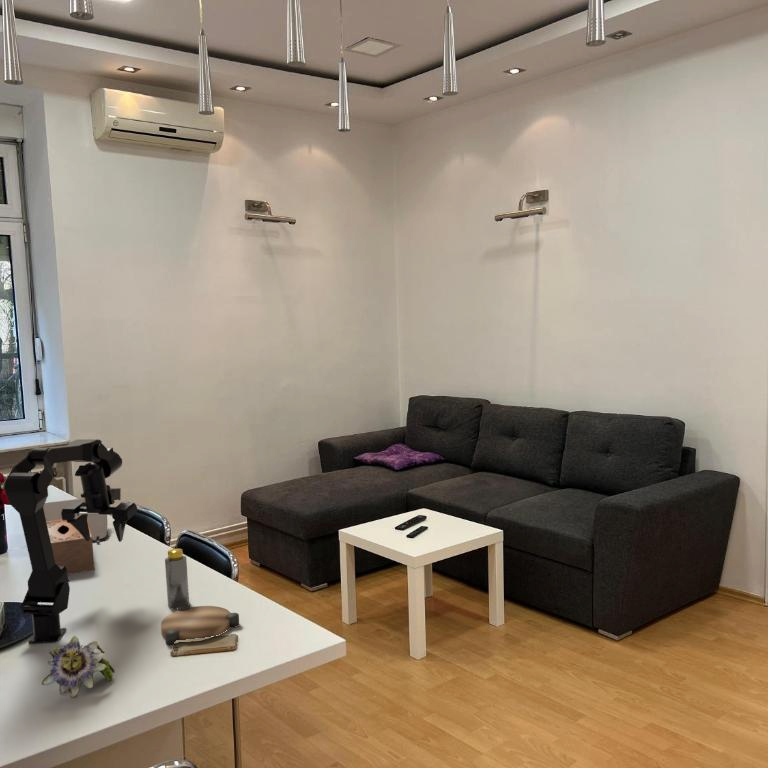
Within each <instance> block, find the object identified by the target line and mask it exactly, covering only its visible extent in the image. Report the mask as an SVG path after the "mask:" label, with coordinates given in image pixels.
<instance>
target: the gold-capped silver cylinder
mask: <svg viewBox="0 0 768 768" xmlns="http://www.w3.org/2000/svg"><path fill="white" fill-rule="evenodd" d="M183 554H184V552H183V549H182V548H172V549H169V550H168V551H167V557H166V558H164V566H165V569H164V570H165V580H166V594H167V596H166V597H167V607H168V608H169V609H171V608H178V606H180V605H184V604H189V605H190V592H189V591H190V590H189V578H188V566H187V565H188V563H187V562H188V561H187V556H186V555H183Z"/></svg>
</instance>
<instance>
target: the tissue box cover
mask: <svg viewBox="0 0 768 768" xmlns="http://www.w3.org/2000/svg"><path fill="white" fill-rule="evenodd" d="M87 522H88V520H87ZM46 523H47V527H48V532H49V536H50V541H51V546H52V550H53V555H54V559H55V563H56V564H57V565H58V566H65V567H66V569H67V575H71V574H70V573H72V574H77V573H76V572H78V573H82V571H84V572H89V570H90V571H94V570H95V559H94V558H95V557H94V548H93V547H94V546H93V545H94V544H93V540H92V535H91V531H90V528H89V532H90V540H89V541H86V539H85V538H84V537H83V536H82V535H81V534H80V533H79V531H78V530H77V529H76V528H75V527H74V526H72V525H71V524H70V523H67V520H62V519H61V520H53V521H46ZM88 527H89V524H88Z"/></svg>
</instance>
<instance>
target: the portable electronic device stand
mask: <svg viewBox="0 0 768 768" xmlns="http://www.w3.org/2000/svg"><path fill="white" fill-rule="evenodd" d="M71 502H85V498H76V499H68V500H67V499H66V500H59V501H52V502H45V504H44V506H43V509H44V513H45V518H46V521H53V520H61V519H62V517H61V511H62V509H63V508H64V507H66V506H67V505H68V504H69V503H71ZM87 520H88V524H89V528H90V531H91V535H92V542H93V541H94V542H96V543H97V542H100V540H103V539H105V538H106V537H107V534H108V515H104V514H88V516H87Z"/></svg>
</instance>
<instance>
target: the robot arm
mask: <svg viewBox="0 0 768 768" xmlns="http://www.w3.org/2000/svg"><path fill="white" fill-rule="evenodd" d="M65 462H66V463H67V462H75V463H86V464H84V465H80V464H79V466H78V468H77V470H76V471H75V473H74V476H75V477H80V482H81V487H82V488H81V489H82V492H81V493H80V497H81V498H80V499H82V498H85V502H71V503H69V504H68V505H67V506H66V507H64V508H63V509H62V511H61V517H62V520H67V523H70V524H71V525H72V526H74V527H75V528H76V529H77V530H78V531H79V533H80V534H81V535H82V536H83V537H84V538H85V539H86V541H89V540H90V532H89V527H88V522H87V516H88V514H104V515H107V516H108V515H110V516H111V517H112V519H113V521H112V525H113V529H114V532H115V535H116V538H117V540H118V542H119V543H121V542H122V541H123V540H124V533H125V528H126V525H127V522H128V521H129V520H131V518H132V517H133V516H134V515H135V514H136V513H138V506H137V504H136V503H135V502H134V501H133V502H129V501H121V497H122V495H121V494H122V493H121V492H122V490H121V488H120V487H111V486H110V485H109V484H107V482H106V479H107V478H108V479H109V478H110V477H111V476H112V475H113V474H115V473H116V472H117V471H118V470H120V469H121V468H122V466H123V459H122V457H121V456H120V455H119V454H118V453H117V452H116V451H114V448H113V447H108V446H107V447H106V446H105V444H104V443H102V440H101V439H97V438H96V439H92V438H91V439H89V438H88V439H75V440H73V441H69V443H68V444H67V445H58V446H51V447H50V446H49V447H35V448H34V447H33V448H31V449H30V450H29V451H28V453H27V455H26V457H25V458H23V459H22V460H21V461H19V462H18V463H17V464H16V465H14V466H13V467H12V469H11V470H10V472H9V474H8V475H7V477H6V478H5V480H4V484H3V489H4V493H5V496H6V498H7V501H8V503H9V505H10V506H11V507H12V508H13V510H15V511H16V512H18V514H19V518H20V522H21V526H22V530H23V531H22V532H23V535H24V540H25V544H26V548H27V553H28V556H29V562H30V564H31V565H30V566H31V572H30V575H29V578H28V580H27V592H26V593H25V596H24V599H23V601H22V603H21V606H20V610H21V613H22V615H31V619H32V621H31V622H32V630H33V631H32V632H33V635H32V636H31V637H30V639H29V640H28V641H27V642H28V644H40V643H41V644H42V643H56V642H58V641H59V640H60V638H62V637H63V635H64V634H65V633H66V631H67V628H66V627H64V628H61V620H60V619H61V618H60V614H62V613H63V612H64V611H65V610H67V609H68V606H69V600H70V599H69V598H70V592H71V591H70V590H71V586H70V582H71V580H70V578H69V576H68V575H69V574H67V569H66V567H65V566H58V565H57V564H56V563H55V559H54V555H53V550H52V546H51V541H50V536H49V532H48V527H47V523H46V518H45V513H44V509H43V506H44V504H45V503H47V499H48V497H49V491H48V490H49V489H48V488H49V486H50V484H51V482H52V480H53V478H54V472H53V467H54V465H55V464H58V463H59V464H60V463H65ZM37 466H43V469H42V471H41V472H32V471H33V470H34V469H35V468H36V467H37ZM115 501H121V502H120V503H118V505H116V506H111V505H114V504H115V503H116V502H115ZM42 603H44V604H42ZM45 603H46V604H45ZM51 603H52V604H51Z"/></svg>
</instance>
